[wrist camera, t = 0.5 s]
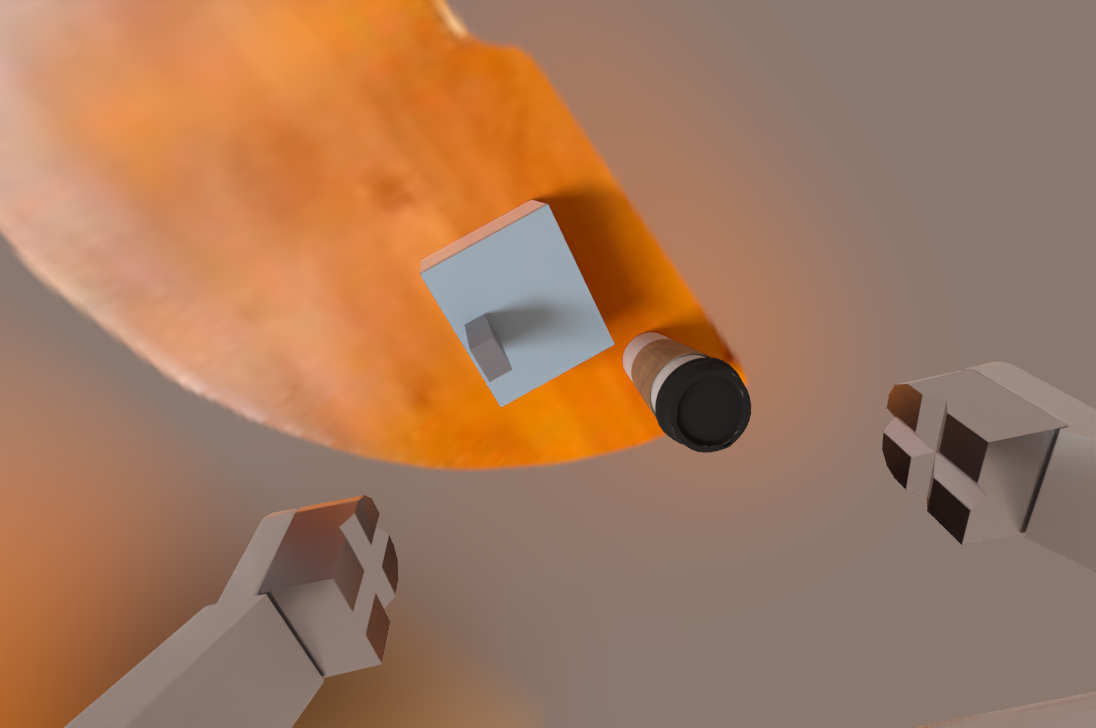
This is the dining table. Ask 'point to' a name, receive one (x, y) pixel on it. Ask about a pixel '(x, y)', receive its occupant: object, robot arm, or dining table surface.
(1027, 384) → the robot arm
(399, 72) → the dining table surface
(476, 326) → the lid
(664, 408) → the coffee cup
